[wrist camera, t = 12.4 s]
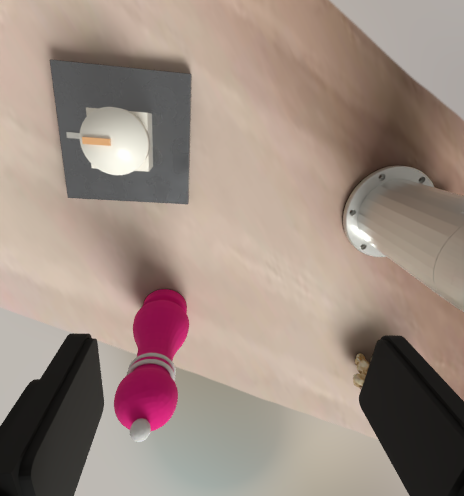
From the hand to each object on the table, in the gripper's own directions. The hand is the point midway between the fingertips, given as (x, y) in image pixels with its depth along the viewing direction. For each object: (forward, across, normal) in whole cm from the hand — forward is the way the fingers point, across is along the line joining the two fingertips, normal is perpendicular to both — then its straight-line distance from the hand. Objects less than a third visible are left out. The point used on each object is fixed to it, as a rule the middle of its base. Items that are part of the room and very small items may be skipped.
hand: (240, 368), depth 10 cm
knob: (+29, +10, -5) cm, 31 cm away
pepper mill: (+31, +6, +18) cm, 36 cm away
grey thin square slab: (+30, +10, -5) cm, 32 cm away
